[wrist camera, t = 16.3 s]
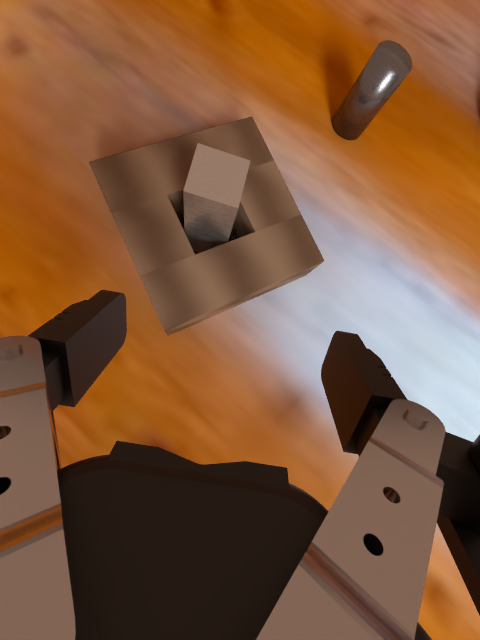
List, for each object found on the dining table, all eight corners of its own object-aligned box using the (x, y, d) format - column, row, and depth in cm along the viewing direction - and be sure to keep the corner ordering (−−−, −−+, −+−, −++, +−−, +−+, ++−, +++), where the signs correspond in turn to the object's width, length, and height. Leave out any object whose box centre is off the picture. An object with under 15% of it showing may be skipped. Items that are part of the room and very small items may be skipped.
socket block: (243, 149, 33) (251, 116, 28) (305, 275, 32) (324, 260, 27) (103, 192, 29) (88, 161, 25) (168, 335, 28) (164, 330, 24)
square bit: (231, 224, 31) (250, 160, 21) (222, 258, 30) (238, 208, 21) (194, 213, 31) (197, 142, 21) (185, 248, 30) (183, 190, 20)
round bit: (346, 106, 36) (393, 35, 29) (367, 130, 36) (419, 65, 29) (326, 120, 35) (368, 49, 27) (347, 145, 35) (395, 81, 27)
